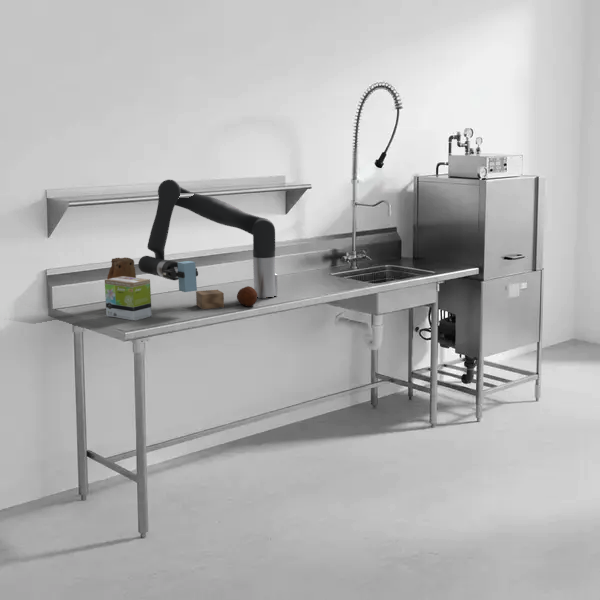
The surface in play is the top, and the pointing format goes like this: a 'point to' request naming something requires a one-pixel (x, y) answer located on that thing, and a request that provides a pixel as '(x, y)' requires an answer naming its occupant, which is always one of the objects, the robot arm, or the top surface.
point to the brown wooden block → (209, 299)
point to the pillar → (187, 276)
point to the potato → (247, 296)
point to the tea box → (128, 298)
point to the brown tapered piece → (122, 268)
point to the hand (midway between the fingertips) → (190, 274)
